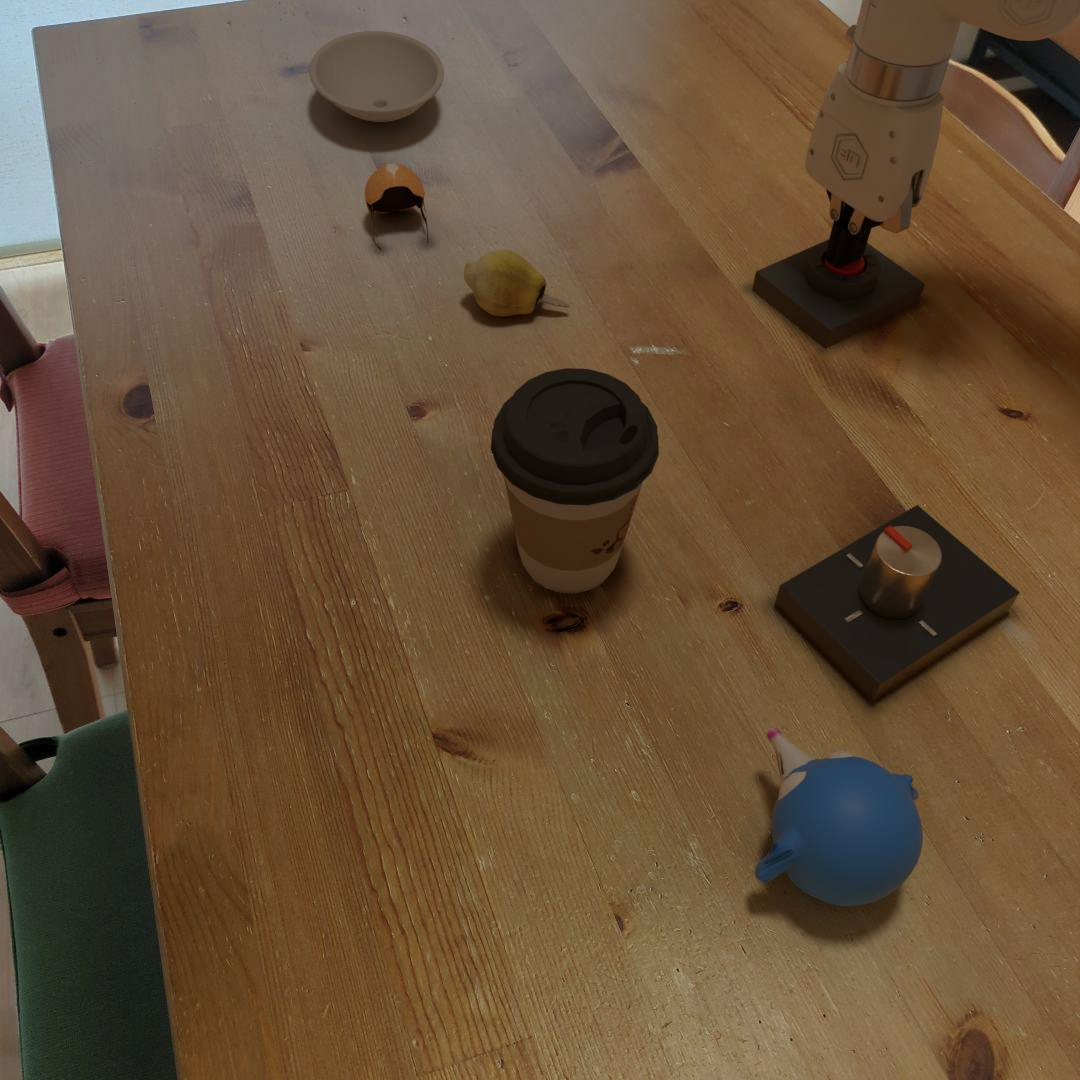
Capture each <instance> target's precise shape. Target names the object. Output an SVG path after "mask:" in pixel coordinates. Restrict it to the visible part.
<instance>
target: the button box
mask: <svg viewBox="0 0 1080 1080" xmlns="http://www.w3.org/2000/svg"><path fill="white" fill-rule="evenodd" d="M828 242H829V238H828V239H826V240H824V241H821V242H819V243H817V244H815V245H812V246H810V247H808V248H805V249H804V250H800V251H799V252H796V253H794V254H792V255H790V256H788V257H787V256H786V257H785V258H782V259H781V260H778V261H775V262H774V263H772V264H770V265H768V266H765V267H763V268H761V269H758V270H756V271H755V274H754V279H753V284H752V289H751V290H752V291H753V292H754V293H755V294H757V295H758V296H759V297H760V298H762V299H763V300H765V302H767V303H768V304H769V305H770V306H772V307H773V308H774V309H775V310H777V311H778V312H779V313H780V314H782V315H783V316H784V317H785V318H787V319H788V320H789V321H790V322H792V323H793V324H794V325H796V326H797V327H798V328H799V329H801V330H802V331H803V332H804V333H805V334H806V335H808V336H809V337H810V338H812V339H813V340H814V341H816V343H818V344H819V345H820V346H821V347H822V348H825V349H826V348H829V347H830V346H833V345H834V344H836V343H838V342H841V341H843V340H845V339H847V338H849V337H851V336H853V335H855V334H857V333H859V332H861V331H863V330H865V329H868V328H869V327H871V326H873V325H876V324H878V323H879V322H881V321H883V320H885V319H888V318H890V317H892V316H895V315H896V314H898V313H899V312H902V311H904V310H907V309H908V308H910V307H912V306H914V305H916V304H918V303H920V300H921V297H922V294H923V292H924V289H925V287H926V283H925V282H924V281H922V280H920V279H919V278H918V277H916V276H915V275H913V274H912V273H911V272H909V271H908V270H906V269H905V268H903V267H902V266H901V265H899V264H898V263H897V262H895V261H894V260H892V259H891V258H890V257H888V256H886V255H885V254H884V253H882V252H881V251H879V250H878V249H876V248H875V247H874V246H873V245H871V244H870V243H868V242H867V245H866V249H865V252H864V254H863V256H862V257H863V259H864V261H865V265H864V268H863V272H862V273H860V274H858V275H856V276H843V275H840V274H836V273H833V272H831V271H830V270H828V269H827V268H826V267H824V265H823V263H824V259H825V255H826V252H827V248H828Z"/></svg>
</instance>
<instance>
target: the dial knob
mask: <svg viewBox="0 0 1080 1080" xmlns="http://www.w3.org/2000/svg"><path fill="white" fill-rule="evenodd" d="M941 560H942V553H941V549H940V547H939V545H938V544H937V542H936V541H935V540H934V539H933V538H932V537H931V536H930V535H929V534H927V533H925V532H924V531H922V530H919V529H917V528H914V527H909V526H895V527H892V526H891V525H890V526H889V527H887V528H885V529H884V531H883V532H882V533H881V534H880V535H879V537H878V539H877V541H876V544H875V546H874V549H873V551H872V554H871V556H870V559H869V562H868V564H867V567H866V569H865V572H864V574H863V577H862V580H861V582H860V586H859V592H860V596H861V598H862V600H863V602H864V603H865V605H866V606H867V607H868V608H869V609H870V610H872V611H873V612H875V613H876V614H878V615H881V616H883V617H886V618H891V619H902V618H906V617H909V616H911V615H913V614H914V613H916V612H917V611H918V609H919V608H920V606H921V604H922V602H923V600H924V597H925V595H926V593H927V591H928V589H929V587H930V585H931V583H932V580H933V578H934V576H935V574H936V572H937V570H938V568H939V566H940V563H941Z"/></svg>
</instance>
